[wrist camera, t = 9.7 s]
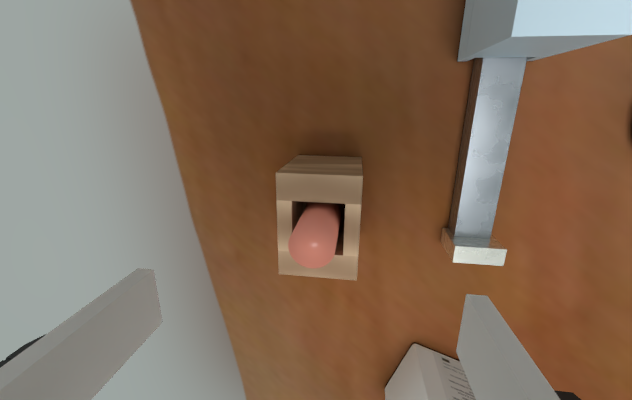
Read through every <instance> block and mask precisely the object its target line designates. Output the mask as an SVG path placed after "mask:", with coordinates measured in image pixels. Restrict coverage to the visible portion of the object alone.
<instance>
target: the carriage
mask: <svg viewBox="0 0 632 400" xmlns="http://www.w3.org/2000/svg"><path fill="white" fill-rule="evenodd" d="M628 35H632V0H466V3H465V10H464V18H463V25H462V32H461V39H460V46H459V53H458V60H457V61H469V60H471V59H473V58H487V57H527V61H534V60H538V59H541V58H545V57H549V56H553V55H556V54H560V53H564V52H568V51H572V50H575V49H579V48H583V47H587V46H591V45H594V44H598V43H602V42H606V41H609V40H613V39H617V38H621V37H625V36H628Z"/></svg>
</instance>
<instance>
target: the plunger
mask: <svg viewBox="0 0 632 400" xmlns="http://www.w3.org/2000/svg"><path fill="white" fill-rule="evenodd" d="M341 213H342V204H340V203H321V202H308V204H307V206H306V208H305V209H304V211H303V213H302V215H301V217H300V219H299V221H298V223H297V225H296V227H295V228H294V230H293V232H292V234H291V236H290V238H289V242H288V249H289V252H290V255H291V256H292V258H293V259H294V260H295V261H296V262H297V263H298V264H300V265H301V266H304V267H307V268H320V267H323V266H325V265H327V264H328V263H329V262H330V261H331V260H332V259H333V257H334V255H335V250H336V244H337V238H338V231H339V225H340V219H341Z"/></svg>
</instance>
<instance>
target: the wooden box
mask: <svg viewBox="0 0 632 400" xmlns="http://www.w3.org/2000/svg"><path fill="white" fill-rule="evenodd" d="M362 184H363V169H362V157H343V156H311V155H297V156H296V157H295V158H294V159H292V160H291V161H290V162H289V163H287V164H286V165H285V166H284V167H282V168H281V169H280V170H279V171H277V172H276V199H277V231H278V263H279V274H285V275H297V276H309V277H321V278H333V279H345V280H357V269H358V252H359V235H360V218H361V201H362ZM308 202H321V203H340V204H345V217H341V219H340V225H339V231H338V238H337V244H336V250H335V255H334V257H333V259H332V260H331V261H330V262H329V263H328V264H327V265H325V266H323V267H320V268H307V267H304V266H301V265H300V264H298V263H297V262H296V261H295V260H294V259H293V258H292V256H291V255H290V252H289V249H288V242H289V238H290V236H291V234H292V232H293V230H294V228H295V227H296V225H297V223H298V221H299V219H300V217H301V215H302V213H303V211H304V209H305V208H306V206H307V204H308Z"/></svg>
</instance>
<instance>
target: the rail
mask: <svg viewBox="0 0 632 400" xmlns="http://www.w3.org/2000/svg"><path fill="white" fill-rule="evenodd" d="M526 61H527V57H487V58H474V63H473V69H472V76H471V82H470V89H469V95H468V101H467V108H466V114H465V121H464V127H463V134H462V140H461V147H460V153H459V159H458V166H457V172H456V179H455V185H454V192H453V198H452V205H451V211H450V217H449V224H448V228H442V234H441V240H440V242H441V244H442V246H443V247H444V249H445V250H446V252H447V254H448V255H449V257H450V259H451V260H452V262H456V263H470V264H483V265H497V266H503V265H504V261H505V256H506V252H507V249H506V248H505V247H504V246H503V245H502V244H501V243H500V242H499V241H498V240H497V239H496V238H494V237H493V236H492V235H491V232H492V227H493V222H494V218H495V213H496V208H497V203H498V198H499V193H500V188H501V183H502V178H503V173H504V168H505V164H506V159H507V154H508V149H509V144H510V139H511V134H512V129H513V124H514V119H515V115H516V110H517V105H518V100H519V95H520V90H521V85H522V80H523V75H524V70H525V65H526Z"/></svg>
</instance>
